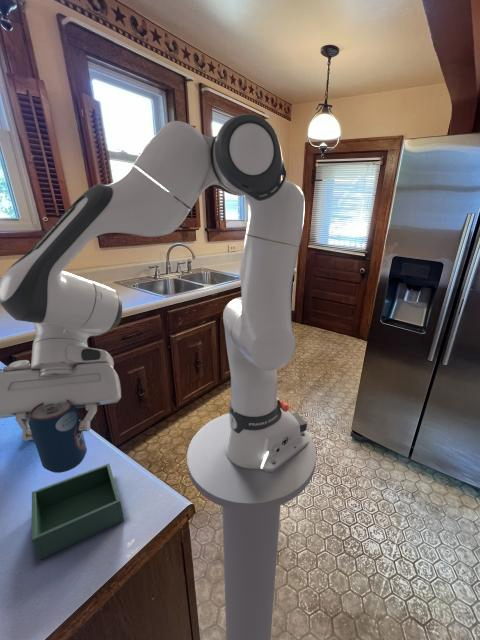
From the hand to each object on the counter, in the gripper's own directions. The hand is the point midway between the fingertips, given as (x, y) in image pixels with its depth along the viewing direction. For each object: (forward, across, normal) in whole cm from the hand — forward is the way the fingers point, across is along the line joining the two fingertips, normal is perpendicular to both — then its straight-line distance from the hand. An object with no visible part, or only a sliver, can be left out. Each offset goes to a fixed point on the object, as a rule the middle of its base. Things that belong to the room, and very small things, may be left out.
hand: (57, 435), depth 55 cm
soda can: (+4, 0, +5) cm, 7 cm away
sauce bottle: (-7, -14, +32) cm, 36 cm away
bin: (+14, +1, +11) cm, 18 cm away
